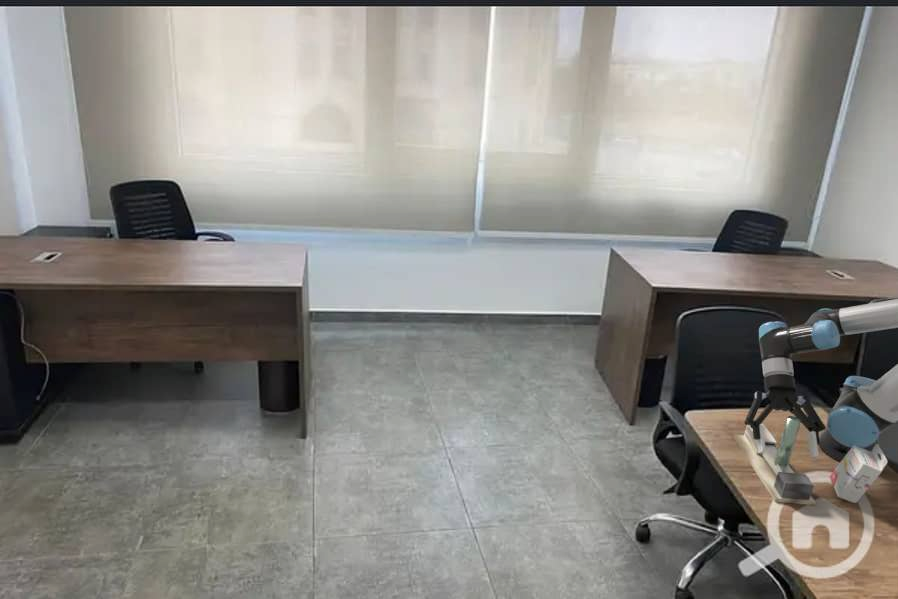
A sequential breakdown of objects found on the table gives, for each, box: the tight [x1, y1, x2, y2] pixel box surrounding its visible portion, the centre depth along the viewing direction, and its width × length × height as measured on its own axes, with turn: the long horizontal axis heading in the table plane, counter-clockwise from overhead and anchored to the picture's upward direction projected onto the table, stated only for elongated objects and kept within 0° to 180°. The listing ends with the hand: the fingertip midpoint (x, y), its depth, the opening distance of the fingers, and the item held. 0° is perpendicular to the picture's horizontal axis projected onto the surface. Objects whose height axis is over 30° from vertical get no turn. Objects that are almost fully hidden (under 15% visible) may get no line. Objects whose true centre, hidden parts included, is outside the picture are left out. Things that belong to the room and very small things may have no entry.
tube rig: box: [733, 423, 817, 506], centre depth 175 cm, size 10×30×6 cm, turn 177°
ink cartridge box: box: [829, 444, 888, 504], centre depth 165 cm, size 9×5×15 cm, turn 166°
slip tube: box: [761, 415, 802, 475], centre depth 169 cm, size 3×20×16 cm, turn 177°
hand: (788, 454), depth 167 cm, fingers open, 13 cm apart
